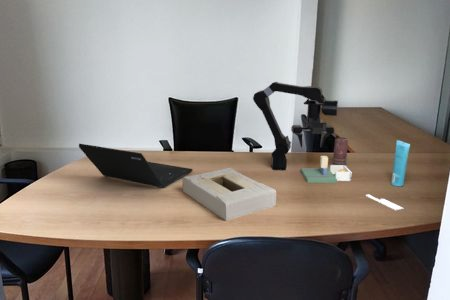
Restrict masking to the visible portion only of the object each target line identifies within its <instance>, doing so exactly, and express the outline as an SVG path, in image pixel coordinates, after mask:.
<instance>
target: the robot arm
mask: <svg viewBox="0 0 450 300" xmlns="http://www.w3.org/2000/svg"><path fill="white" fill-rule="evenodd" d="M275 92H279V93H285V94H291V95H297V96H302V97H304V98H306V101H304V102H303V105H307V113H306V124H305V125H306V126H301V125H300V124H293V125H292V126H291V127H290V128H291V129H290V131H291V132H292V133H293V134H294V135H295V136H297V139H298V143H299V145H300V147H301V148H303V132H310V134H311V135H315V134H317V135H321V136H320V143H319V144H320V145H319V146H320V148H323V145H324V143H325V142H326V139H327V138H328V137H330V136H331V135H334V134H335V128H334V126H332V125H330V124H329V125H328V124H327V122H321V113H322V115H323V116H332V117H337V116H338V112H339V111H338V110H339V107H338V106H339V105H338V102H339V101H338V100H327V99H326V98H325V97H326V96H324V94H323V89H322V88H321V86H318V85H307V86H302V85H301V86H300V85H295V84H288V83H282V82H278V81H274V82H271V84H269V85H268V86H267V87H266V88H265V89H263V90H262V89H261V90H258V91H257V92H256V93H254V94H253V96H252V99H253V102H254V103H255V105H256V106H257V108H258V109H259V110H260V111H261V112H262V115H263V116H264V119H265V121H266V123H267V125H268V127H269V130H270V132H271V134H272V136H273V139H274V146H275V148H274V150H273V151H272V152H271V165H270V167H271V169H272V170H273V171H276V170H277V171H280V170H281V171H282V170H283V171H286V170H287V166H288V159H287V156H286V155H287V154H288V153H289V152H290V149H291V148H292V147H291V146H292V145H291V144H292V141H291V140H290V137H289V135H286V136H285V134H284V133H283V132H282V130H281V128H280V126H279V123H278V121H277V118H276V116H275V115H274V113H273V110H272V107H271V101H270V96H271V95H273V94H274V93H275Z"/></svg>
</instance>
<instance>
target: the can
mask: <svg viewBox="0 0 450 300" xmlns="http://www.w3.org/2000/svg"><path fill="white" fill-rule="evenodd" d="M349 141H350V140H349V139H348V138H346V137H335V139H334V147H333V158H332V159H333V160H332V165H345V166H347V156H348V147H349V144H350V143H349Z"/></svg>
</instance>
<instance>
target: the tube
mask: <svg viewBox="0 0 450 300" xmlns="http://www.w3.org/2000/svg"><path fill="white" fill-rule="evenodd" d="M395 145H396V146H395V153H394V159H393V160H394V161H393V167H392V173H391V174H392V175H391V185H392V186H395V187H402V186H404V184H405V177H406V170H407V163H408V159H409V152H410V148H411V144H410V143H407V142H404V141H402V140H398V139H396V143H395Z"/></svg>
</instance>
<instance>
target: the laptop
mask: <svg viewBox="0 0 450 300" xmlns="http://www.w3.org/2000/svg"><path fill="white" fill-rule="evenodd" d="M78 148H79V149H80V150H81V151H82V152H83V154H84V155H85V156H86V157H87V158H88V159H89V161H90V163H92V165H94V166H95V168H96V169H97V170H98V171H99V173H100V174H101V175H102V176H104V177H107V178H108V177H109V178H114V179H119V180H124V181H127V182H128V181H129V182H134V183H140V184H144V185H150V186H155V187H159V188H165V187H166V188H167V186H169V185H172V184H173V183H174V182H176V181H178V180H179V179H181V178H182V179H183V178H184V177H186V176H188V175H189V174H190V173H191V172H193V171H194V169H193V168H188V167H182V166H176V165H169V164H164V163H159V162H151V161H147V159H146V157H145V156H144V155H143V154H142V152H135V151H130V150H129V151H128V150H124V149H116V148H110V147H105V146H98V145H90V144H84V143H78Z"/></svg>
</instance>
